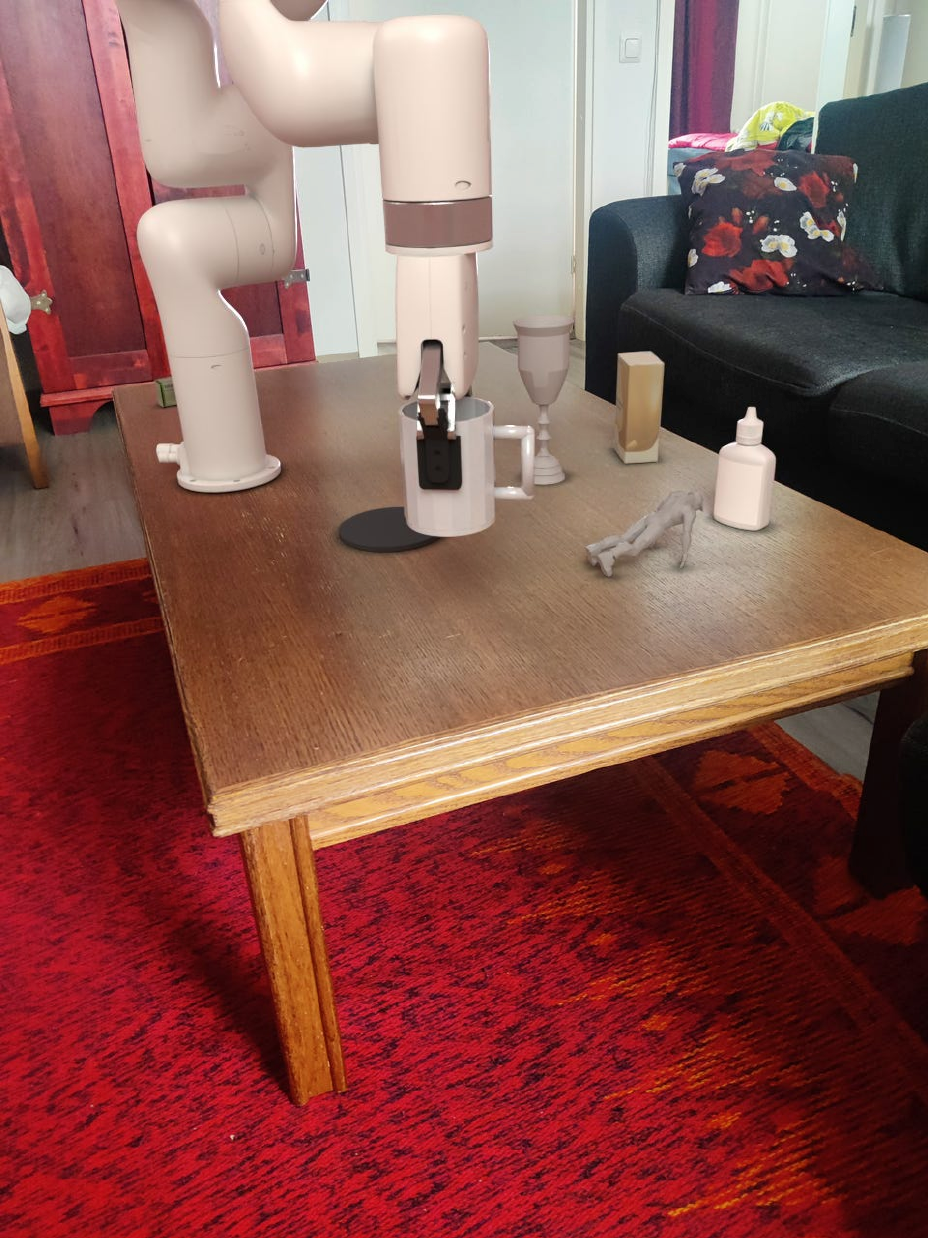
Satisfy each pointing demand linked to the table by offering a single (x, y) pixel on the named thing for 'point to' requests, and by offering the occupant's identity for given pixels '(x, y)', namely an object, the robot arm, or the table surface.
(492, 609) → the table surface
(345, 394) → the table surface
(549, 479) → the chalice
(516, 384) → the table surface
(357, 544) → the coaster
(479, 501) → the coffee mug
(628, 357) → the cosmetic box
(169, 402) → the medication box
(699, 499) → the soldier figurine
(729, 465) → the eye dropper bottle
